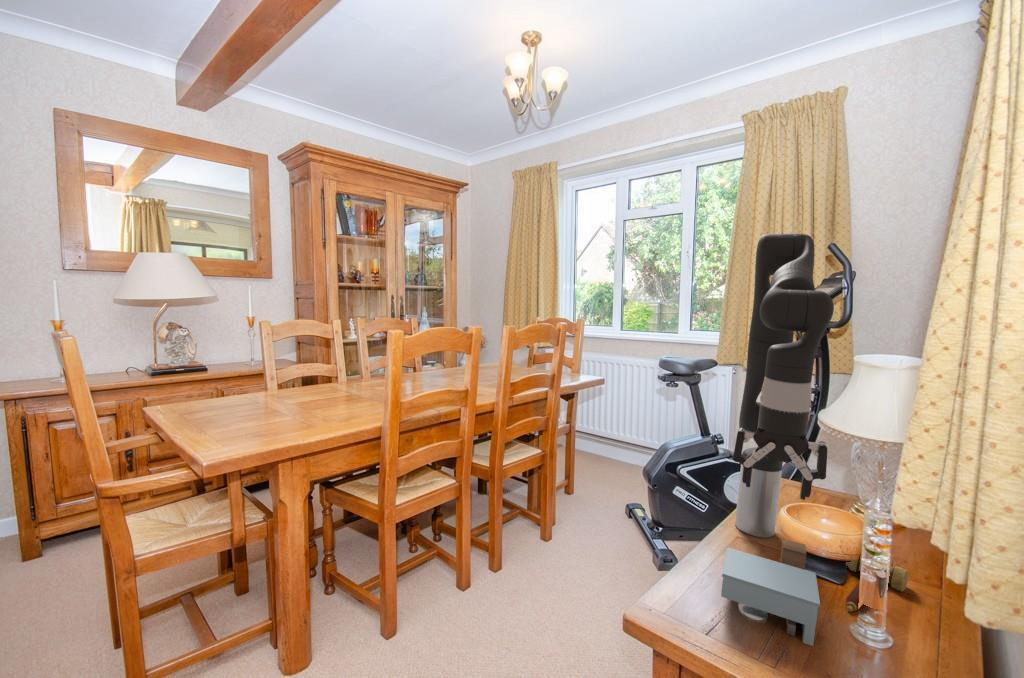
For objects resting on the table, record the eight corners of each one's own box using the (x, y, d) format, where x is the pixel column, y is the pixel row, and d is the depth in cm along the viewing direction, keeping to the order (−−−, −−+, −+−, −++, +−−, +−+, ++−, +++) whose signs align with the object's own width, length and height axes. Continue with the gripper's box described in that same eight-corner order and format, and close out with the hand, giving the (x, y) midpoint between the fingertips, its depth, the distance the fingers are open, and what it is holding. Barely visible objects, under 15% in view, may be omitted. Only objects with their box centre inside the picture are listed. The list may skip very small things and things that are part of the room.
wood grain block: (777, 583, 97) (782, 538, 96) (799, 589, 96) (805, 544, 94) (778, 630, 84) (784, 579, 82) (803, 639, 82) (810, 587, 81)
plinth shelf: (723, 583, 96) (727, 547, 95) (810, 612, 89) (815, 572, 88) (718, 613, 87) (722, 573, 86) (814, 647, 80) (820, 604, 79)
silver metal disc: (738, 602, 91) (739, 595, 91) (767, 612, 89) (768, 605, 89) (737, 617, 87) (737, 610, 87) (767, 628, 84) (768, 621, 84)
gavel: (882, 614, 85) (820, 585, 93) (880, 636, 86) (818, 606, 93) (909, 567, 98) (853, 545, 106) (907, 586, 99) (851, 563, 106)
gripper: (831, 406, 80) (820, 493, 83) (741, 393, 87) (732, 474, 90) (835, 417, 74) (823, 511, 76) (737, 402, 81) (728, 489, 83)
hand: (774, 491), depth 83 cm, fingers open, 8 cm apart
